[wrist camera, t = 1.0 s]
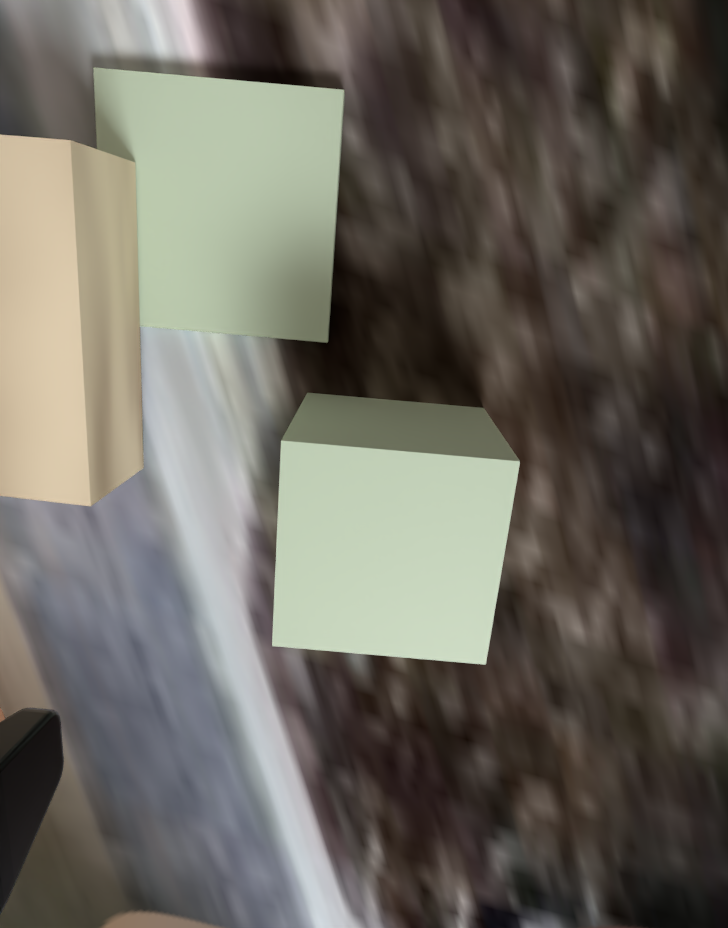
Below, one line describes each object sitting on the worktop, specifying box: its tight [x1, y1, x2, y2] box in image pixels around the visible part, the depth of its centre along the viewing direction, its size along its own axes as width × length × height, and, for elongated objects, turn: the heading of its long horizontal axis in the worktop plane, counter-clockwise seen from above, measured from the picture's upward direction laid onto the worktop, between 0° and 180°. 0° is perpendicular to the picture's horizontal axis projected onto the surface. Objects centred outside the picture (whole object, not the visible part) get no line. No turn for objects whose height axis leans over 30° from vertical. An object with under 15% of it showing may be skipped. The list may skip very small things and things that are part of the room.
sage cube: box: [272, 393, 520, 665], centre depth 16 cm, size 5×5×5 cm
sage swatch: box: [93, 67, 345, 343], centre depth 16 cm, size 6×6×1 cm
